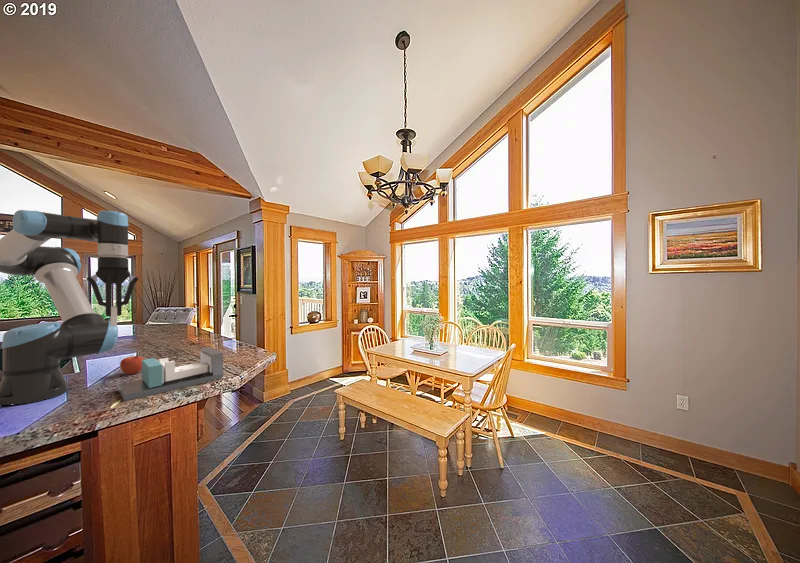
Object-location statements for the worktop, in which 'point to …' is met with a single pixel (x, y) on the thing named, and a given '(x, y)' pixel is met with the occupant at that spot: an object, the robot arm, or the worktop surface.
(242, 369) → the worktop surface
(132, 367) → the apple
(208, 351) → the block
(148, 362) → the block
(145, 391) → the vise base
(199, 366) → the bracket
